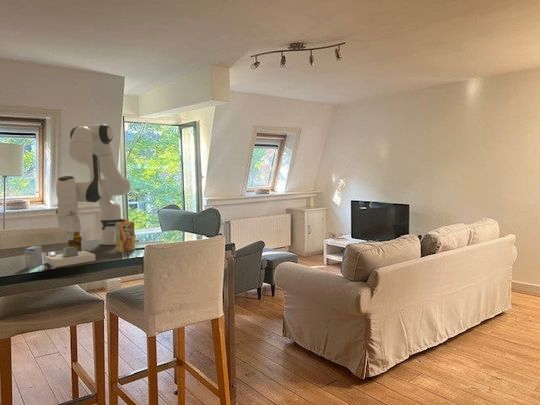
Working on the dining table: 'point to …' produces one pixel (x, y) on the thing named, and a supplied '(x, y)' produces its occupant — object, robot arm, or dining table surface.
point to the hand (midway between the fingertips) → (70, 239)
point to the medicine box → (33, 256)
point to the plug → (70, 252)
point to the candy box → (125, 236)
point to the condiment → (75, 241)
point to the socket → (70, 259)
